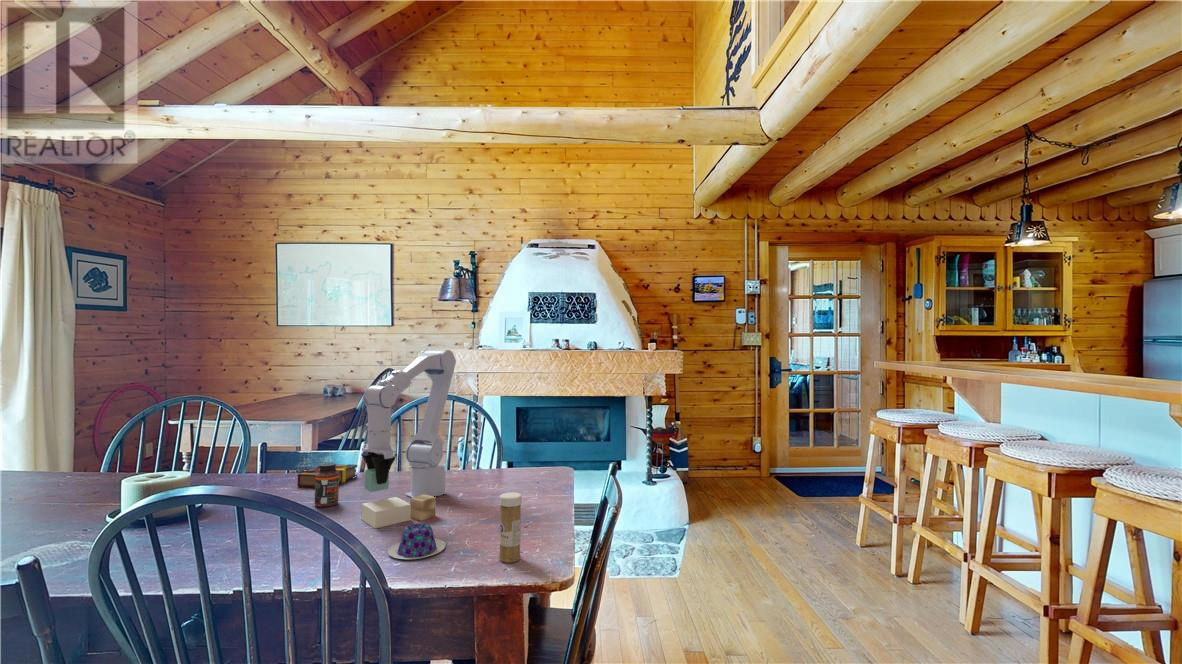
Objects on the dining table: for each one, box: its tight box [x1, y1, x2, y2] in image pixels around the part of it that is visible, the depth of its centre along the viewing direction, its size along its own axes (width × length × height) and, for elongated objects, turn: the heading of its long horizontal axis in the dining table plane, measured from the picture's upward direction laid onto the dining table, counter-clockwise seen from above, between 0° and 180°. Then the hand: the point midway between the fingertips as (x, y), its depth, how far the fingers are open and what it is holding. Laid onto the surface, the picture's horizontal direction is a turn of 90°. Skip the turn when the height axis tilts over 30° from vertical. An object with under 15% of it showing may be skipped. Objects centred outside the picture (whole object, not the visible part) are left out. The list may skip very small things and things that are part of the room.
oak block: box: [409, 495, 437, 522], centre depth 133 cm, size 4×4×5 cm
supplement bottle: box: [314, 462, 340, 508], centre depth 143 cm, size 6×6×11 cm
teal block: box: [364, 468, 390, 493], centre depth 136 cm, size 4×4×5 cm
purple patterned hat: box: [387, 523, 446, 560], centre depth 111 cm, size 12×12×5 cm
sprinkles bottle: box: [498, 491, 523, 564], centre depth 107 cm, size 5×5×13 cm
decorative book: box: [297, 463, 358, 488], centre depth 168 cm, size 11×16×5 cm
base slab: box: [361, 496, 412, 529], centre depth 131 cm, size 9×9×4 cm
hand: (378, 481), depth 136 cm, fingers closed on teal block, 4 cm apart
